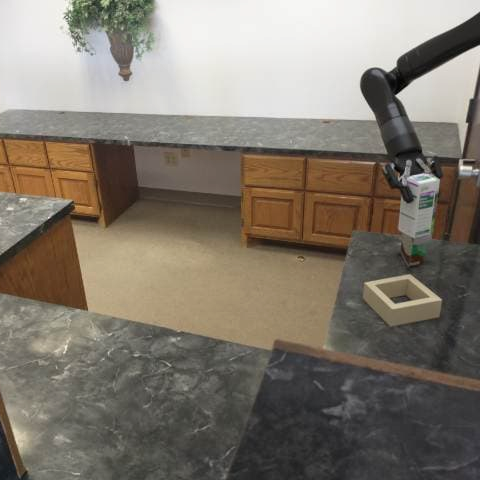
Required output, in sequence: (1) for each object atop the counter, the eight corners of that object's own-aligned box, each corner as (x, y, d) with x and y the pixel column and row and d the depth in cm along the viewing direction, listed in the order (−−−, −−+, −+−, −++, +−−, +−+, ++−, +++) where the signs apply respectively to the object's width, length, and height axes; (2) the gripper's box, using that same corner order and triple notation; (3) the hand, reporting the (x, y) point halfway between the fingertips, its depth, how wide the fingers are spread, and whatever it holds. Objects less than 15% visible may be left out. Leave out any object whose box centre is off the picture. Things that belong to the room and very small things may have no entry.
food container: (434, 270, 140) (439, 237, 136) (410, 270, 141) (414, 238, 137) (421, 249, 151) (425, 218, 147) (398, 249, 152) (402, 219, 148)
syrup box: (413, 239, 124) (420, 183, 117) (396, 229, 129) (403, 175, 123) (433, 234, 125) (441, 178, 119) (415, 225, 130) (423, 171, 124)
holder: (362, 298, 132) (364, 282, 129) (407, 290, 133) (410, 274, 131) (390, 326, 120) (392, 309, 118) (439, 317, 122) (442, 299, 119)
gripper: (379, 135, 122) (403, 198, 117) (435, 127, 124) (461, 188, 119) (366, 151, 129) (388, 210, 124) (418, 142, 131) (442, 201, 126)
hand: (423, 199), depth 121 cm, fingers closed on syrup box, 6 cm apart
